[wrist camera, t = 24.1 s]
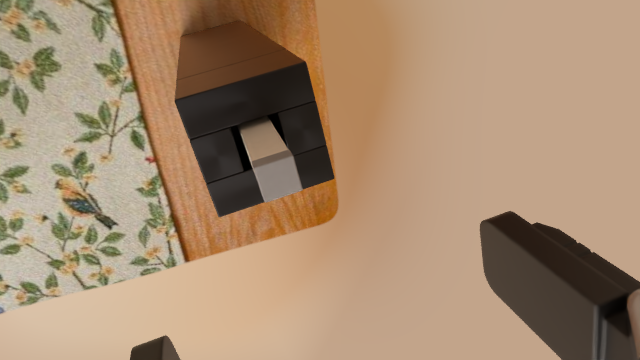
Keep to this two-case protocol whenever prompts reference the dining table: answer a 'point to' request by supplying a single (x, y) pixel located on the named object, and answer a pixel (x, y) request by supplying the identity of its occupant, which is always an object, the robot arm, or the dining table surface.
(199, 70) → the holder
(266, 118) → the grey square peg
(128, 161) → the dining table surface
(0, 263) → the dining table surface
